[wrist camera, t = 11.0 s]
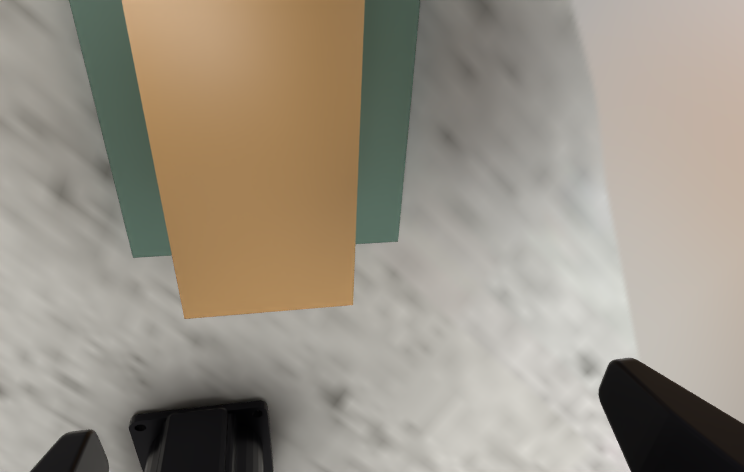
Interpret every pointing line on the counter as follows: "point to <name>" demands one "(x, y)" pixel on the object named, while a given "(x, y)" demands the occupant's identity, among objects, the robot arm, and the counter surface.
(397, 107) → the board
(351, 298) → the block
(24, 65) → the counter surface
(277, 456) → the counter surface
